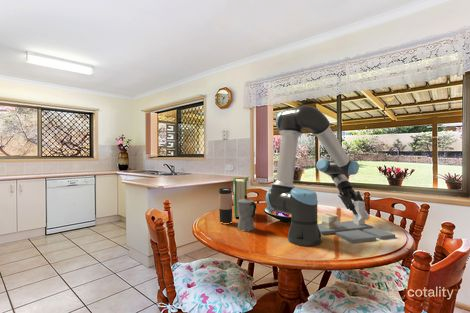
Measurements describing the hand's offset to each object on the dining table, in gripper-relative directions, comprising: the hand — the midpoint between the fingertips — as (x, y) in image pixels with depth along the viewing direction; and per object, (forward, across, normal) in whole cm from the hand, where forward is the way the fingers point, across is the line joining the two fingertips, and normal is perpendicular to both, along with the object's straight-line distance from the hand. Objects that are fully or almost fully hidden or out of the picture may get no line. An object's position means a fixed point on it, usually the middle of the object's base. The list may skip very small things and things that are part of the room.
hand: (364, 218), depth 131 cm
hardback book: (-31, +54, -38) cm, 73 cm away
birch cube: (0, +18, -5) cm, 19 cm away
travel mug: (-20, +67, -28) cm, 75 cm away
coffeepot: (-9, +59, -16) cm, 62 cm away
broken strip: (+11, +9, +4) cm, 15 cm away
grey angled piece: (+1, +12, -6) cm, 14 cm away
